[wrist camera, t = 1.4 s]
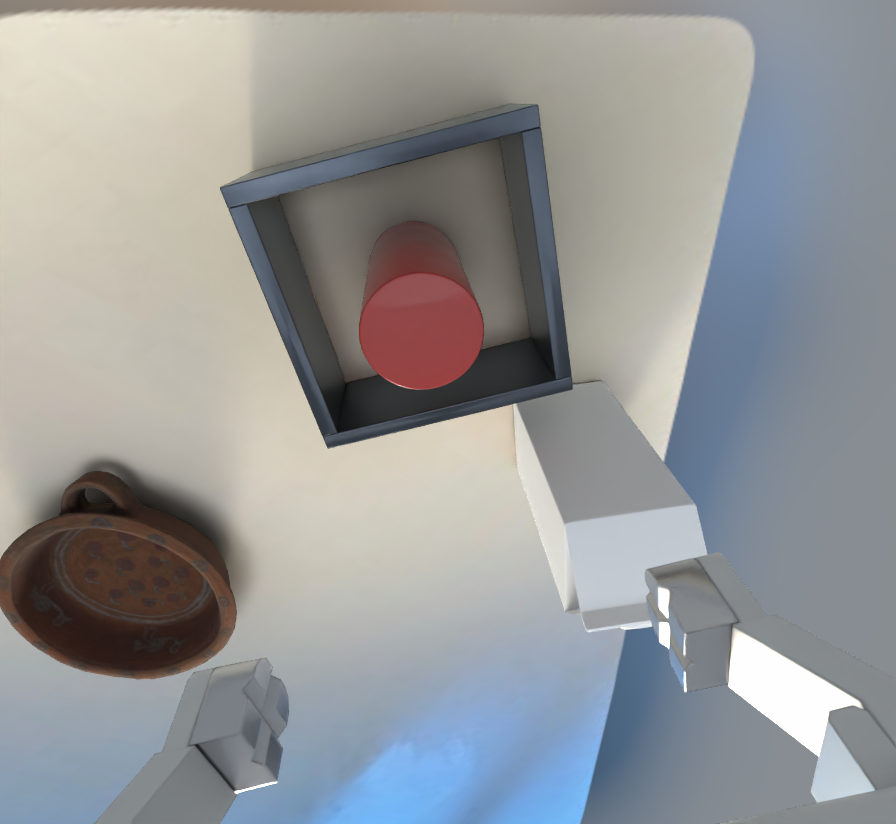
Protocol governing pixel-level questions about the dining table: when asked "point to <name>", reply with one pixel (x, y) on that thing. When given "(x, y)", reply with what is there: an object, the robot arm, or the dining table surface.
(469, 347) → the can
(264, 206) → the open box
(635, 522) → the milk carton
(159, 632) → the dish
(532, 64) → the dining table surface
